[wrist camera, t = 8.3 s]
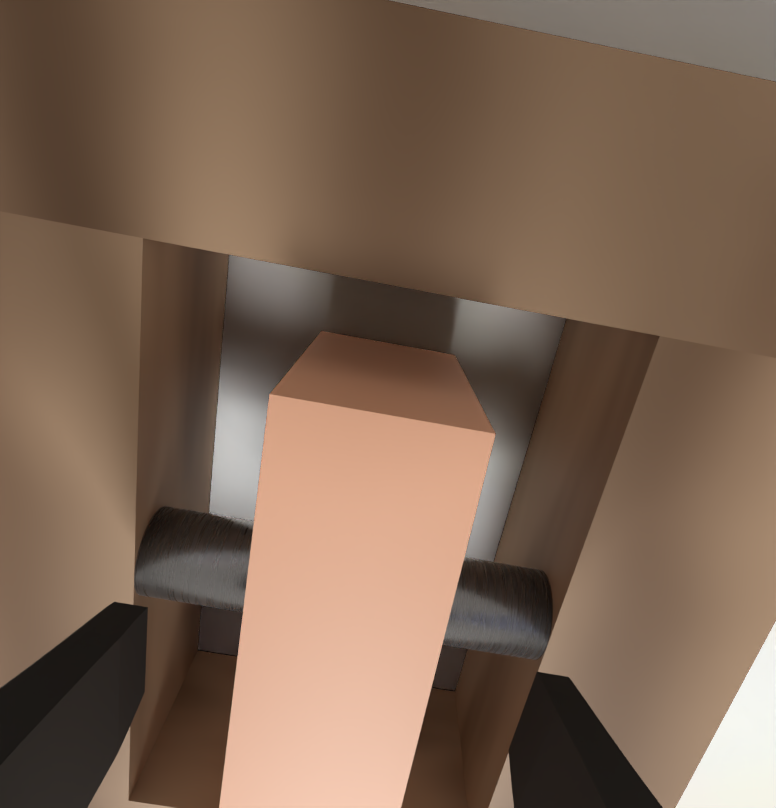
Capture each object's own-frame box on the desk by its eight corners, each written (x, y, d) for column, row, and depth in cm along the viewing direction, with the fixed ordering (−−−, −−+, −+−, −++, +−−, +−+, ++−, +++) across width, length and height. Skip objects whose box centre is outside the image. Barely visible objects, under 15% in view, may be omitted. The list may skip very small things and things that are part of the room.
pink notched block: (454, 355, 14) (495, 433, 8) (386, 664, 17) (381, 883, 11) (321, 330, 14) (269, 394, 8) (275, 647, 17) (212, 858, 11)
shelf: (806, 162, 13) (1036, 136, 8) (548, 789, 20) (591, 962, 16) (47, 6, 12) (-173, -118, 8) (67, 715, 20) (-37, 873, 15)
